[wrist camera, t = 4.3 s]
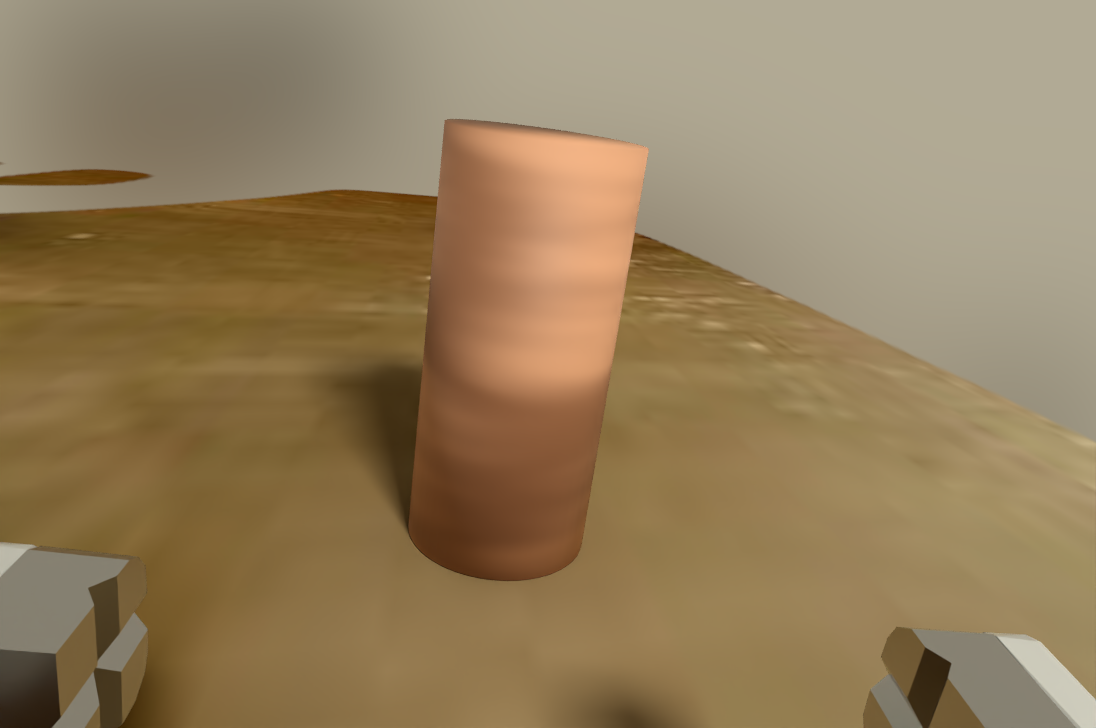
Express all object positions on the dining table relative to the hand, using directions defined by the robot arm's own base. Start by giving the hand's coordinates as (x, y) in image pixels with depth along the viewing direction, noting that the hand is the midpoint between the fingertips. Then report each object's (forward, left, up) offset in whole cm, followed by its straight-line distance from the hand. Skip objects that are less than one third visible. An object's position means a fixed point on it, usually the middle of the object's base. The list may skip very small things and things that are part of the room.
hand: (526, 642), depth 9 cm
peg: (+7, -9, -5) cm, 12 cm away
